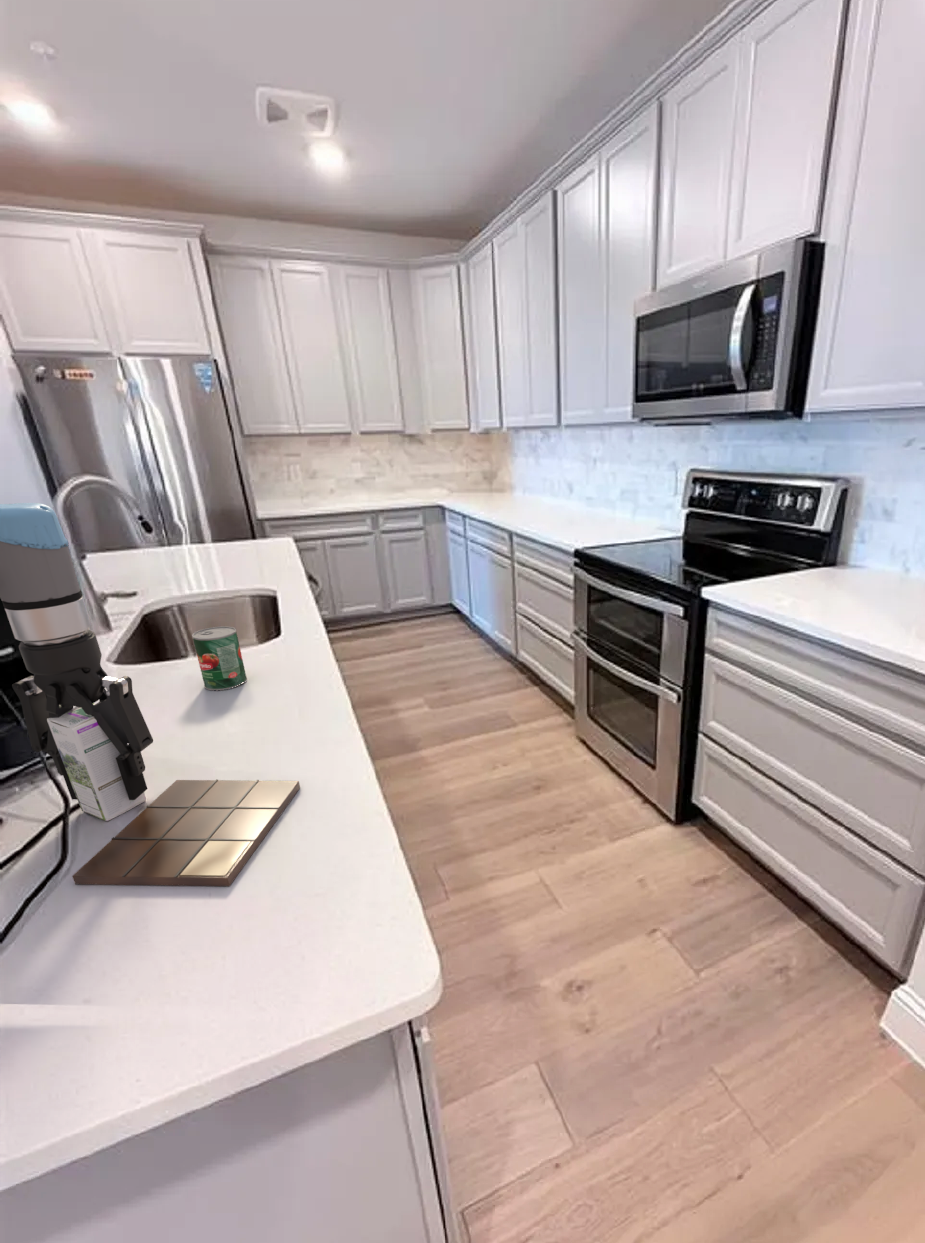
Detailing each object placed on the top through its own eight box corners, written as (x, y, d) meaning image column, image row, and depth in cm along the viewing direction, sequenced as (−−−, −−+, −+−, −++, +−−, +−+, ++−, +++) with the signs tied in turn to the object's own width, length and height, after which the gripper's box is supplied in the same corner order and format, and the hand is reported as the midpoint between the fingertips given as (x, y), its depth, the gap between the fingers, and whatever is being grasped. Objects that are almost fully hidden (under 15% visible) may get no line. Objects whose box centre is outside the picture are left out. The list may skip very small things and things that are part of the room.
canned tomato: (255, 676, 124) (244, 626, 120) (231, 691, 117) (219, 639, 113) (220, 674, 126) (209, 625, 121) (195, 689, 118) (182, 637, 114)
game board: (74, 884, 67) (71, 875, 67) (178, 786, 86) (176, 779, 85) (229, 886, 67) (227, 877, 66) (300, 787, 85) (298, 780, 85)
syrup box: (148, 800, 83) (119, 707, 77) (105, 823, 78) (70, 726, 72) (123, 790, 85) (93, 699, 79) (79, 813, 80) (43, 717, 75)
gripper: (156, 625, 75) (197, 779, 84) (3, 625, 76) (60, 778, 84) (115, 645, 68) (165, 811, 77) (-53, 645, 69) (15, 809, 77)
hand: (110, 793), depth 81 cm, fingers closed on syrup box, 7 cm apart
